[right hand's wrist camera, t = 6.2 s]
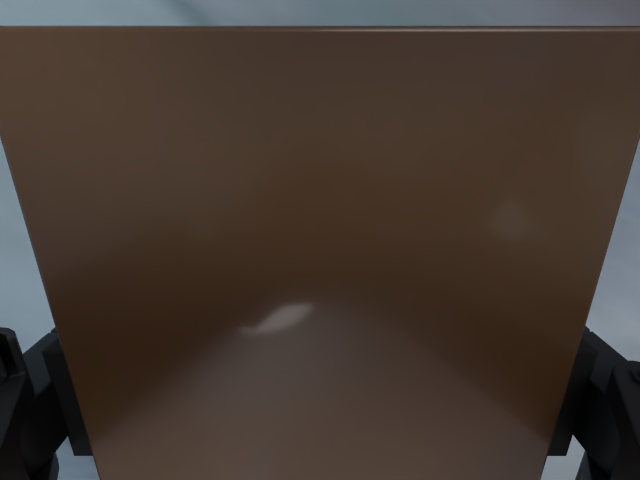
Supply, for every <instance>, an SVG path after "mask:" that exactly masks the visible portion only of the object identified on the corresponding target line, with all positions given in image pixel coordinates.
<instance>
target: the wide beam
mask: <svg viewBox="0 0 640 480" xmlns="http://www.w3.org/2000/svg"><path fill="white" fill-rule="evenodd" d="M0 137H1V141H2V144H3V148H4V151H5V155H6V158H7V162H8V165H9V168H10V172H11V175H12V179H13V182H14V186H15V189H16V192H17V196H18V199H19V203H20V206H21V210H22V213H23V217H24V220H25V223H26V227H27V230H28V234H29V237H30V241H31V244H32V248H33V251H34V254H35V258H36V261H37V265H38V268H39V272H40V275H41V279H42V282H43V285H44V289H45V292H46V296H47V299H48V303H49V306H50V310H51V313H52V316H53V320H54V323H55V327H56V330H57V334H58V337H59V340H60V344H61V347H62V351H63V354H64V358H65V361H66V365H67V368H68V371H69V375H70V378H71V382H72V385H73V389H74V392H75V396H76V399H77V402H78V406H79V409H80V413H81V416H82V420H83V423H84V427H85V430H86V433H87V437H88V440H89V444H90V447H91V451H92V454H93V458H94V461H95V464H96V468H97V471H98V475H99V478H100V480H540V479H541V476H542V472H543V469H544V465H545V462H546V458H547V455H548V451H549V448H550V445H551V441H552V438H553V434H554V431H555V427H556V424H557V420H558V417H559V414H560V410H561V407H562V403H563V400H564V396H565V393H566V389H567V386H568V383H569V379H570V376H571V372H572V369H573V365H574V362H575V358H576V355H577V352H578V348H579V345H580V341H581V338H582V334H583V331H584V327H585V324H586V321H587V317H588V314H589V310H590V307H591V303H592V300H593V297H594V293H595V290H596V286H597V283H598V279H599V276H600V272H601V269H602V266H603V262H604V259H605V255H606V252H607V248H608V245H609V241H610V238H611V235H612V231H613V228H614V224H615V221H616V217H617V214H618V210H619V207H620V204H621V200H622V197H623V193H624V190H625V186H626V183H627V179H628V176H629V173H630V169H631V166H632V162H633V159H634V155H635V152H636V149H637V145H638V142H639V138H640V26H0Z"/></svg>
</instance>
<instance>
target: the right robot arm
mask: <svg viewBox="0 0 640 480" xmlns="http://www.w3.org/2000/svg"><path fill="white" fill-rule="evenodd" d="M589 330H590V329H589V328H587V327H586V326H585V327H584V331H583V334H582V338H581V341H580V345H579V348H578V352H577V355H576V358H575V362H574V365H573V369H572V372H571V376H570V379H569V383H568V386H567V389H566V393H565V396H564V400H563V403H562V407H561V410H560V414H559V417H558V420H557V424H556V427H555V431H554V434H553V438H552V441H551V445H550V448H549V451H548V455H547V456H566V454H567V451H568V448H569V445H570V441H571V438H572V435H574V436H575V438H576V439H577V440H578V442H579V443H580V444H581V445H582V447H583V448H584V449H585V452H584V455H583V458H582V461H581V464H580V467H579V470H578V473H577V476H576V479H575V480H640V362H637V361H627V360H626V359H625V358H624V357H622V356H621V355H620V354H619V353H618V352H616V351H615V350H614V349H613V348H612V347H610V346H609V345H608V344H607V343H605V342H604V341H603V340H602V339H601V338H599V337H598V336H597V335H596V334H595V333H593V332H590V331H589ZM67 436H68V437H69V440H70V444H71V447H72V450H73V453H74V456H93V454H92V451H91V447H90V444H89V440H88V437H87V433H86V430H85V427H84V423H83V420H82V416H81V413H80V409H79V406H78V402H77V399H76V396H75V392H74V389H73V385H72V382H71V378H70V375H69V371H68V368H67V365H66V361H65V358H64V354H63V351H62V347H61V344H60V340H59V337H58V334H57V330H56V327H55V328H54V329H53V330H51V333H48V334H47V335H45V336H44V337H43V338H42V339H41V340H39V341H38V342H37V343H36V344H35V345H33V346H32V347H31V348H30V349H29V350H27V351H26V352H25V353H24V354H22V351H21V349H20V346H19V343H18V340H17V337H16V334H15V331H13V330H11V329H9V328H0V480H57V478H58V472H59V463H58V458H57V455H56V450H57V449H58V448H59V447H60V445H61V444H62V443H63V441H64V440H65V439H66V437H67Z"/></svg>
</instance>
